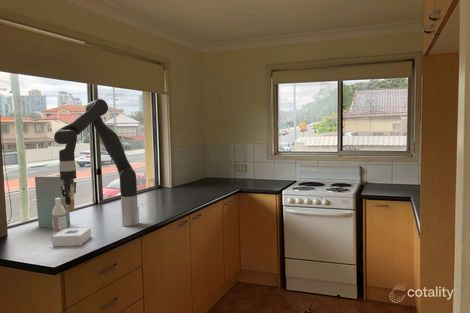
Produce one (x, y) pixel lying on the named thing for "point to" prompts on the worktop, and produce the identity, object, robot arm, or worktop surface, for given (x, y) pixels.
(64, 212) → the bath foam
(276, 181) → the worktop surface
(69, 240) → the socket block
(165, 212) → the worktop surface
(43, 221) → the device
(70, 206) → the peg
